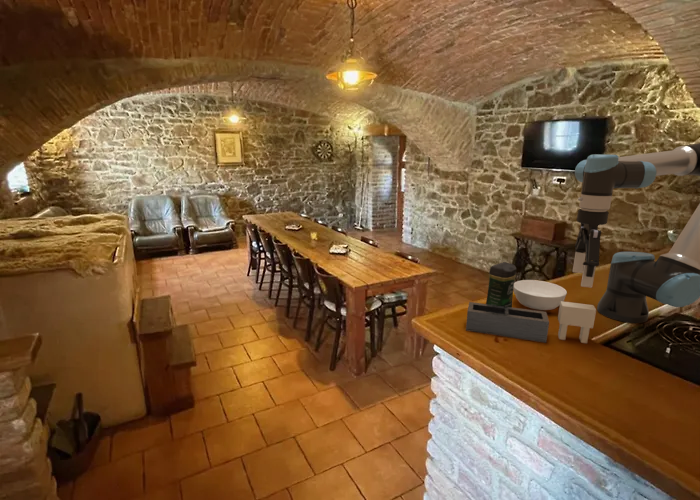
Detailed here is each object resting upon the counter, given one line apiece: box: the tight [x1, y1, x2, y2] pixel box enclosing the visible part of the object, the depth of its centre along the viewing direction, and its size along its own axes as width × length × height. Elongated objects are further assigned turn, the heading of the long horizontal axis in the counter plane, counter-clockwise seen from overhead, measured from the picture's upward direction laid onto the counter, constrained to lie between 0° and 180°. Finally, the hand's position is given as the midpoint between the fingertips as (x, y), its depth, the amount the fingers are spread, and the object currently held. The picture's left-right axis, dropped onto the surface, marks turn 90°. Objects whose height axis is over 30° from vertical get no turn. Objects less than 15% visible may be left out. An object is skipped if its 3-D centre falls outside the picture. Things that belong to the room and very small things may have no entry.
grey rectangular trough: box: [465, 301, 550, 344], centre depth 125 cm, size 24×8×7 cm, turn 69°
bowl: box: [513, 279, 568, 311], centre depth 144 cm, size 18×18×7 cm
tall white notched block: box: [557, 301, 597, 344], centre depth 118 cm, size 9×4×12 cm, turn 69°
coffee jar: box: [485, 261, 517, 308], centre depth 137 cm, size 10×8×19 cm
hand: (581, 279), depth 115 cm, fingers open, 13 cm apart
